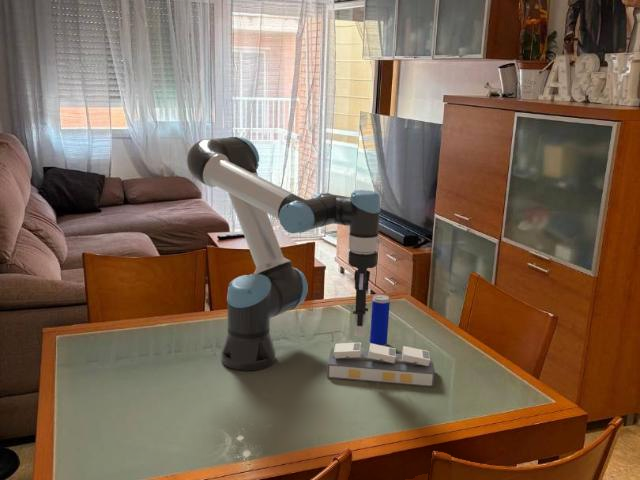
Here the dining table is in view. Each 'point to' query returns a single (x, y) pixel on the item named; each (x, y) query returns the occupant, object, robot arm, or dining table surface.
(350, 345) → the plate
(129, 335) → the dining table surface
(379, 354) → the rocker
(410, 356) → the rocker
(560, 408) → the dining table surface
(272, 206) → the robot arm
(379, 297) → the beverage can
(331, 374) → the switch console
